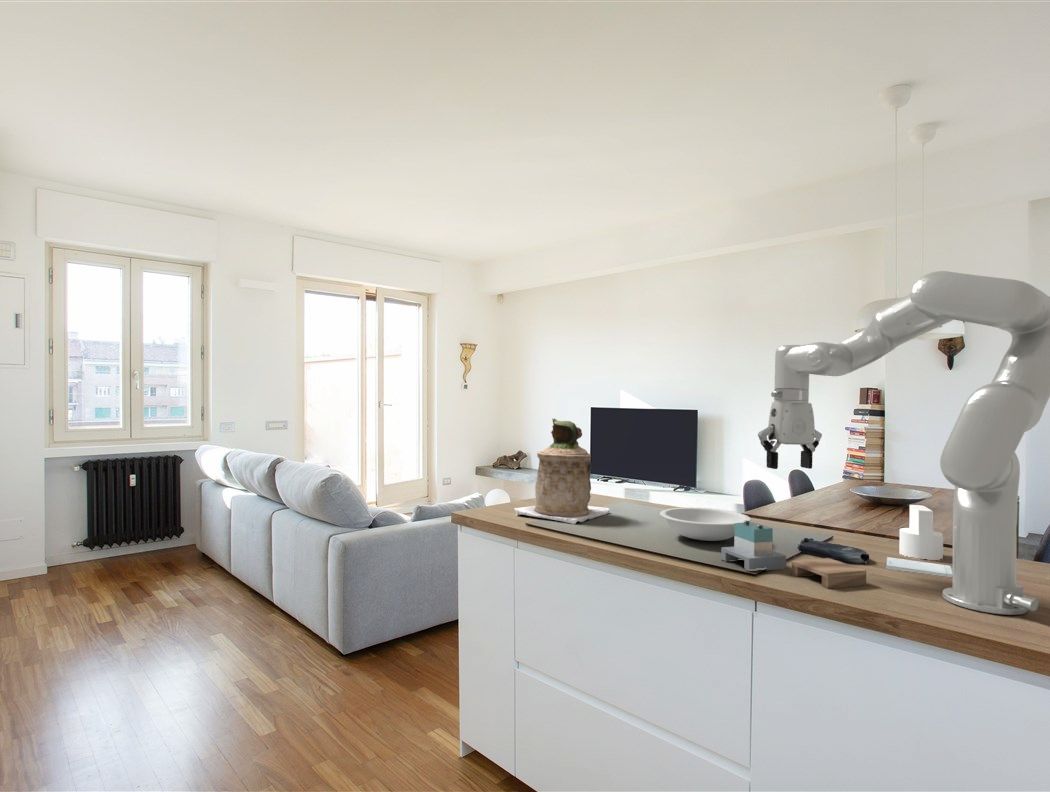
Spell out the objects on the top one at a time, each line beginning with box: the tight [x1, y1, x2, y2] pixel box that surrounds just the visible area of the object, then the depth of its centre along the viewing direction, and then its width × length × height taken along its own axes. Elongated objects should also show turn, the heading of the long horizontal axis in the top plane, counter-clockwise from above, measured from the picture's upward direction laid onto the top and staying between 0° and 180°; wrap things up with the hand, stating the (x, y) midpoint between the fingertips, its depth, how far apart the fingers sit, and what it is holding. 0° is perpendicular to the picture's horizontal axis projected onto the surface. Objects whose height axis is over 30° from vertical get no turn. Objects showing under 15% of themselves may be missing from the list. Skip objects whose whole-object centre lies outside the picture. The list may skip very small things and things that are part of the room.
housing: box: [733, 521, 774, 556], centre depth 135 cm, size 7×5×7 cm
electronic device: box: [796, 537, 870, 565], centre depth 143 cm, size 9×6×15 cm
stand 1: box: [720, 546, 787, 571], centre depth 135 cm, size 10×10×3 cm
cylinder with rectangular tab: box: [898, 504, 944, 559], centre depth 145 cm, size 9×9×12 cm
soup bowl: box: [659, 506, 752, 542], centre depth 160 cm, size 24×24×7 cm
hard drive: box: [885, 556, 953, 578], centre depth 133 cm, size 2×8×12 cm
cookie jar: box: [513, 417, 611, 525], centre depth 193 cm, size 25×25×32 cm
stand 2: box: [791, 557, 867, 589], centre depth 124 cm, size 10×10×3 cm
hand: (789, 468), depth 139 cm, fingers open, 9 cm apart
